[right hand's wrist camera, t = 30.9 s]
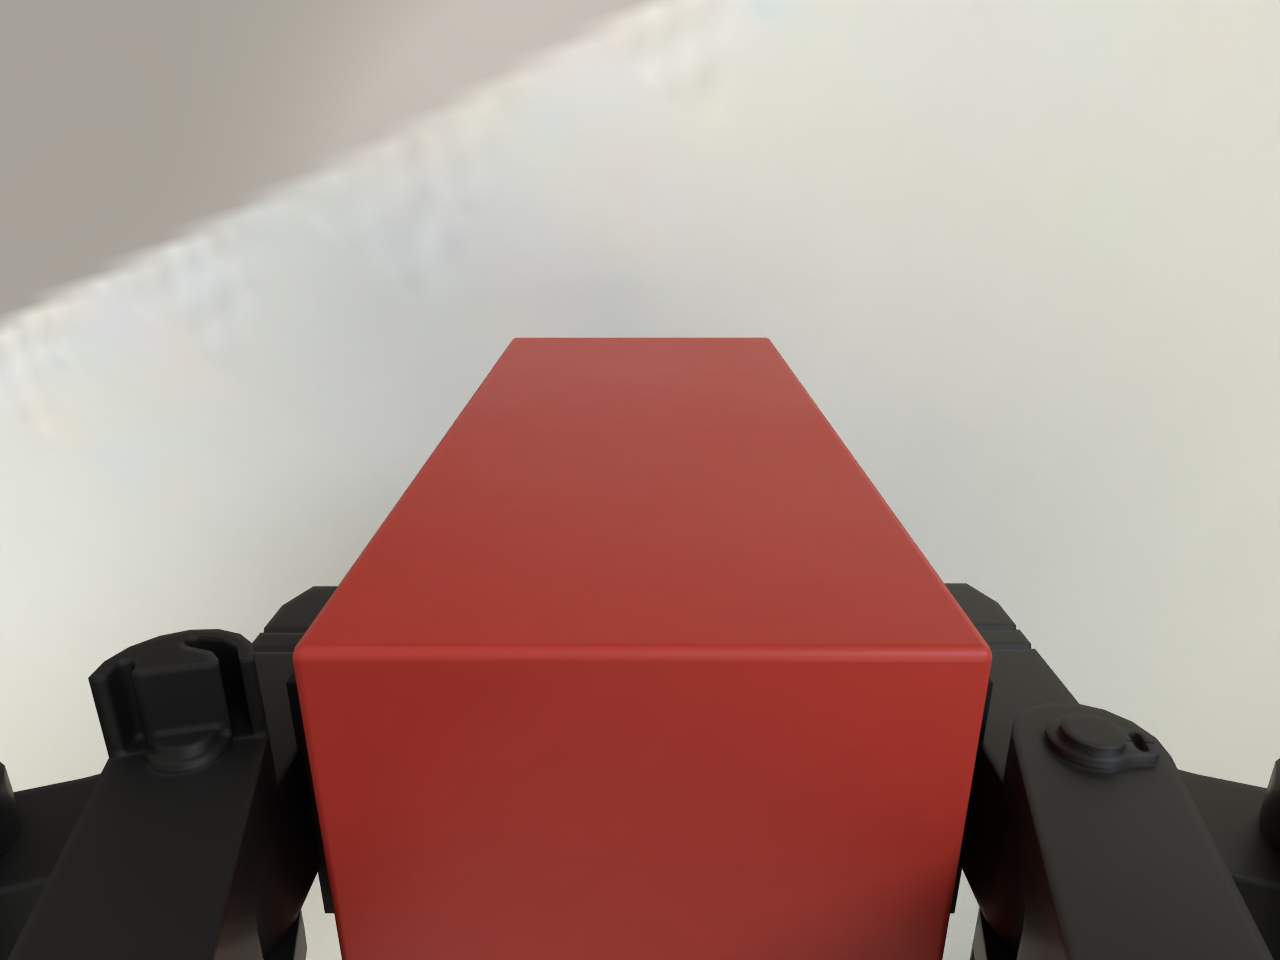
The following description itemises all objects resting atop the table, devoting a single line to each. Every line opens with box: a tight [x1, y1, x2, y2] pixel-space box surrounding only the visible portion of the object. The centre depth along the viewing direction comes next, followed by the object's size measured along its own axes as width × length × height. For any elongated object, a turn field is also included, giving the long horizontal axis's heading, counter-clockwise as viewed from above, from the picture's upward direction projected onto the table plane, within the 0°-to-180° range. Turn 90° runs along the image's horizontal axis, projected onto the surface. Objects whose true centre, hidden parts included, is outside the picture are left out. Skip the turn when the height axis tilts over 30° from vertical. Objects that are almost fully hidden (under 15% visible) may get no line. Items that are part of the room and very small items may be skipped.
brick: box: [293, 338, 992, 960], centre depth 12 cm, size 5×5×11 cm
